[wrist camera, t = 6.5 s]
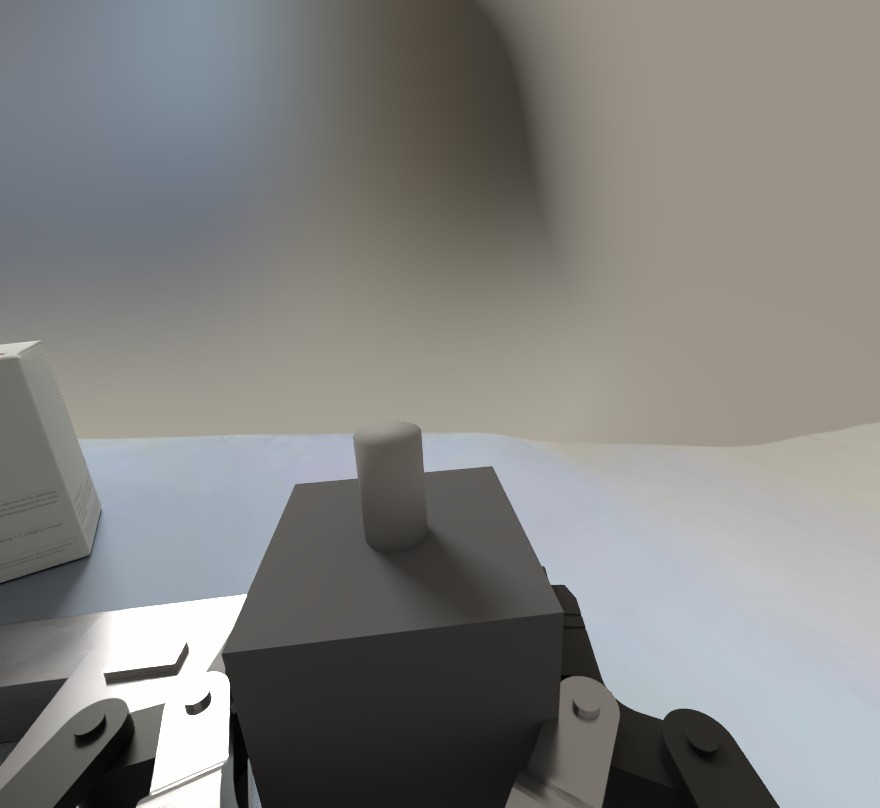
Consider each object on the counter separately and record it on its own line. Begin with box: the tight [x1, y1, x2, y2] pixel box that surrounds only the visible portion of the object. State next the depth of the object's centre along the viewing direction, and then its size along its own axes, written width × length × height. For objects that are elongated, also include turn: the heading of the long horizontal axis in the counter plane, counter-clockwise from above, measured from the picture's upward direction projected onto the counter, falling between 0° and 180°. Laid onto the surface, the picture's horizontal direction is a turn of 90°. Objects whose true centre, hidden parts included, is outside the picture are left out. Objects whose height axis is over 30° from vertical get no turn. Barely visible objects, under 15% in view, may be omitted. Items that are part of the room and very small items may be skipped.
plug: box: [221, 421, 564, 808], centre depth 11 cm, size 6×6×13 cm
